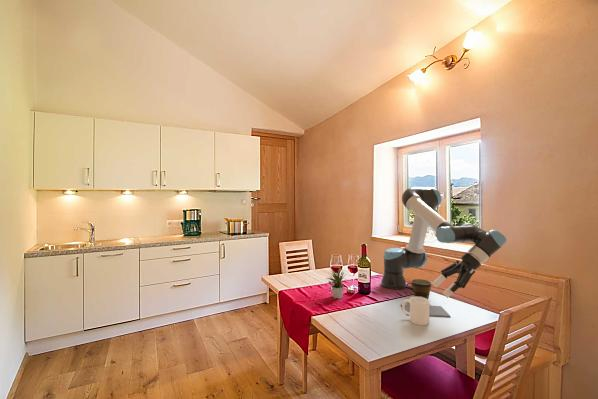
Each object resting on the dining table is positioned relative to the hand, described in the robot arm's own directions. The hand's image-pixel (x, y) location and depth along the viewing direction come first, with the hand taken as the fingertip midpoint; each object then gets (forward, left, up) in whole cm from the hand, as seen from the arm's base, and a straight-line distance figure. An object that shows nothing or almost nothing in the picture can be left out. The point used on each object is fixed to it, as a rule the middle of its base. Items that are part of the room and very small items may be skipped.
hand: (439, 290), depth 129 cm
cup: (+10, -4, -15) cm, 18 cm away
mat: (-1, -12, -14) cm, 19 cm away
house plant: (+34, -42, -15) cm, 56 cm away
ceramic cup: (-8, -26, -15) cm, 31 cm away
